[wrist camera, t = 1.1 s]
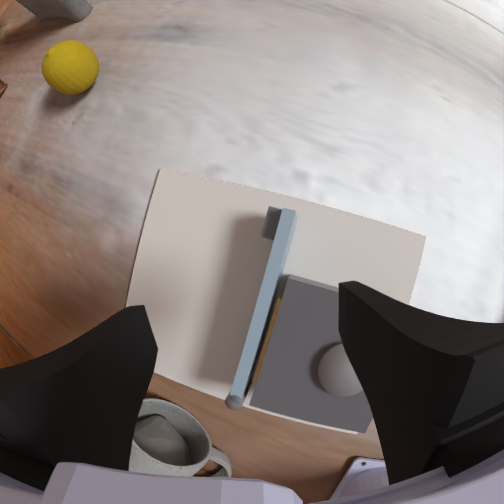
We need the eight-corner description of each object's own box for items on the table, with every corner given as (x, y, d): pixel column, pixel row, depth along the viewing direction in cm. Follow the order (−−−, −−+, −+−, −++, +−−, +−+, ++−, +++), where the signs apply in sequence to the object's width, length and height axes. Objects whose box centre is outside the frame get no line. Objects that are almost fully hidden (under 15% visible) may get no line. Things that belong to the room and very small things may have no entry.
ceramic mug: (124, 436, 26) (84, 474, 18) (151, 385, 25) (106, 422, 17) (212, 491, 24) (189, 540, 16) (252, 447, 23) (235, 503, 16)
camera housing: (396, 303, 21) (417, 314, 17) (357, 408, 21) (366, 437, 17) (287, 273, 23) (282, 277, 18) (254, 381, 23) (242, 407, 18)
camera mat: (424, 236, 21) (426, 236, 21) (356, 431, 22) (356, 434, 21) (162, 169, 25) (160, 167, 25) (120, 354, 25) (117, 355, 25)
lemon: (103, 101, 26) (56, 67, 18) (68, 107, 27) (21, 81, 19) (118, 59, 26) (77, 21, 18) (82, 67, 27) (41, 37, 19)
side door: (300, 219, 22) (298, 211, 18) (250, 389, 23) (240, 412, 19) (273, 212, 23) (266, 203, 19) (226, 381, 23) (212, 402, 19)
